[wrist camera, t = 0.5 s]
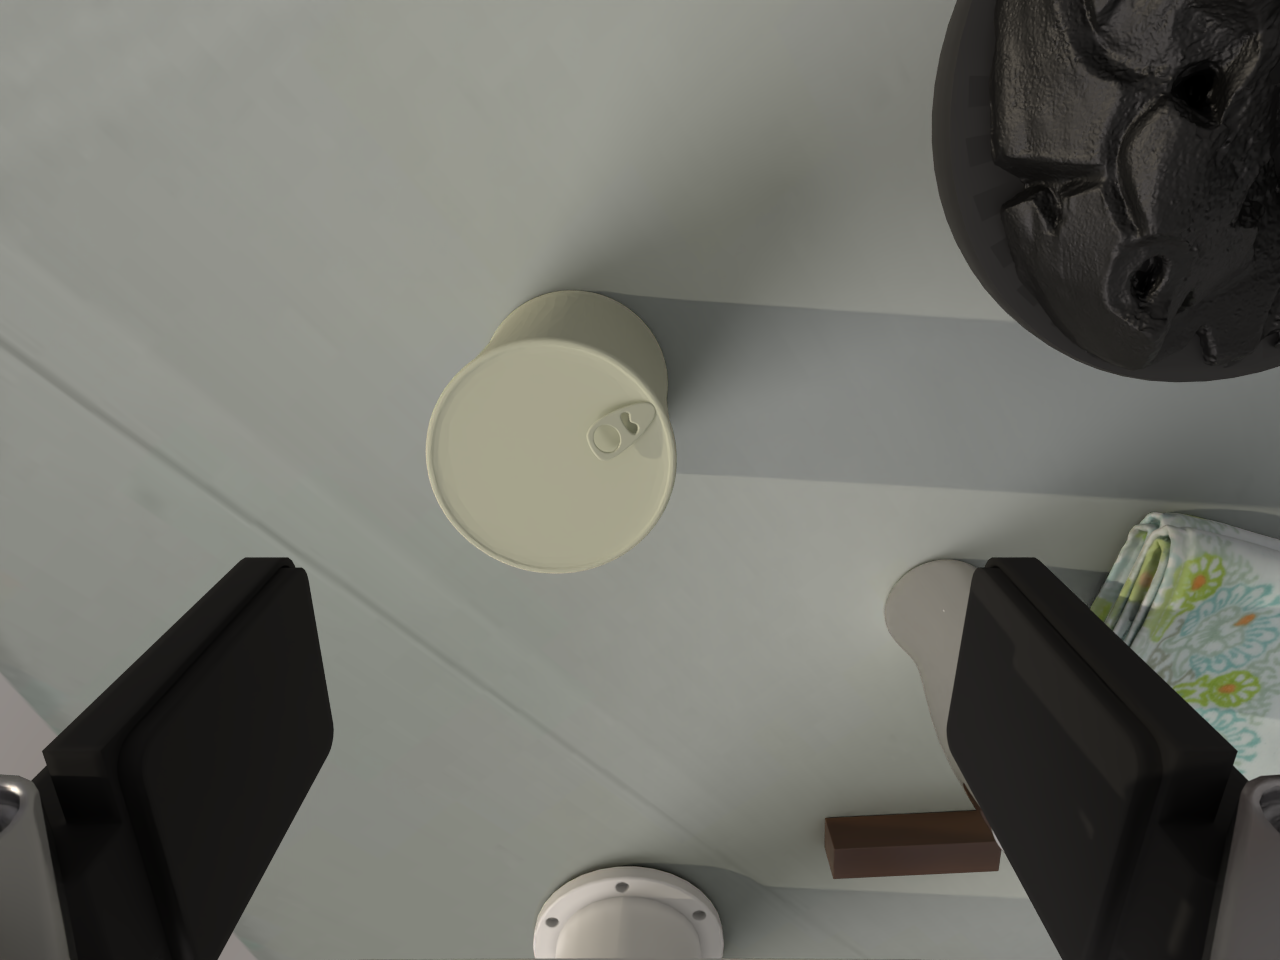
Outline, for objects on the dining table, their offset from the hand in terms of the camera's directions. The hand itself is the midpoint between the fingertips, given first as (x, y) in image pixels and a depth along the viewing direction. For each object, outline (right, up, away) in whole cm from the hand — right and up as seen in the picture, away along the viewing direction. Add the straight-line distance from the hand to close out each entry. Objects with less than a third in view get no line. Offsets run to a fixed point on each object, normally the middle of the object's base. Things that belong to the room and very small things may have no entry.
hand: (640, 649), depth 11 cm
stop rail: (+17, -20, +39) cm, 46 cm away
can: (-3, +7, +28) cm, 29 cm away
